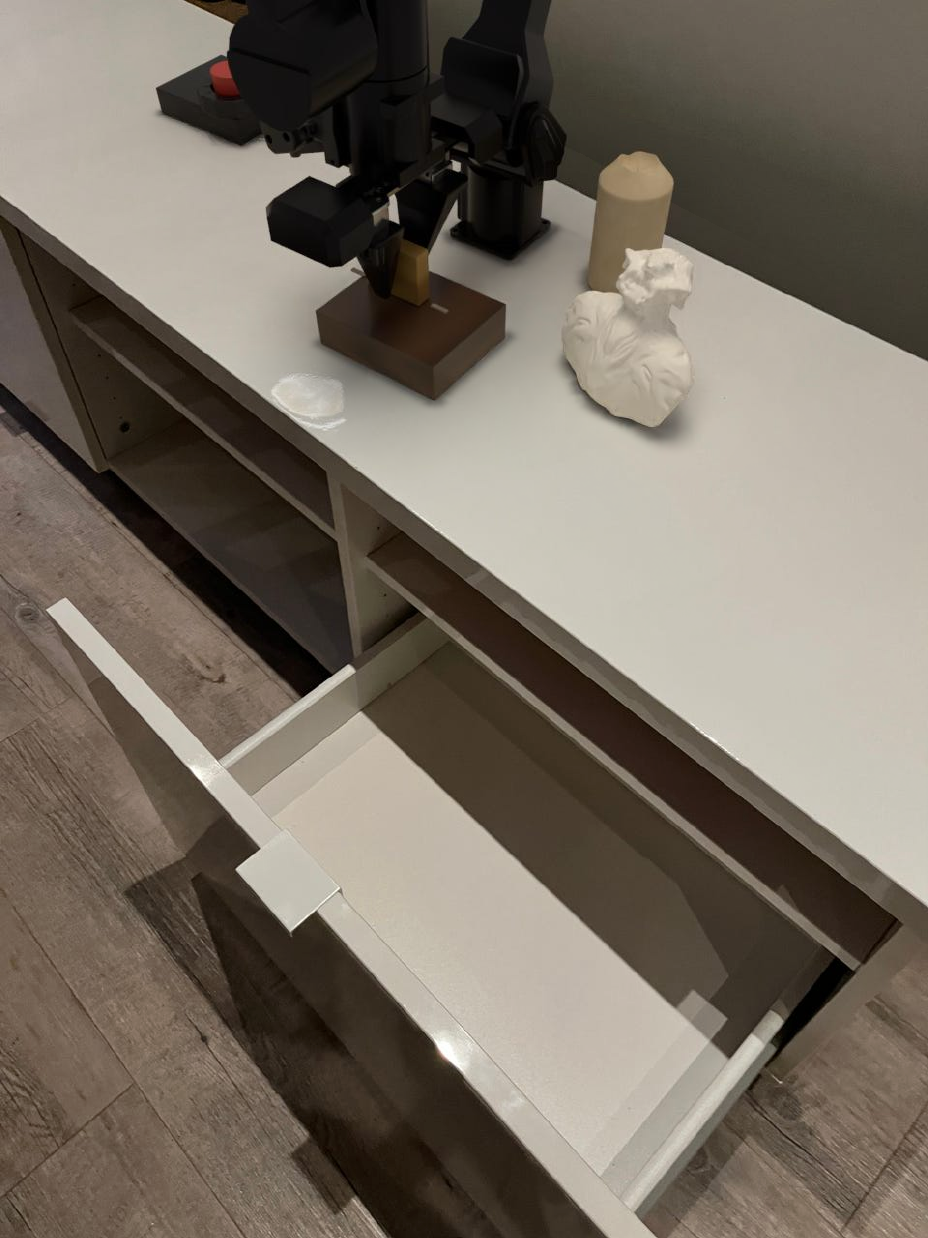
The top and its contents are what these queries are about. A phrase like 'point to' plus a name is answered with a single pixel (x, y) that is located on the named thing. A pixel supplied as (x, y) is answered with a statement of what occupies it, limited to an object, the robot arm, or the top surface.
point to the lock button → (223, 79)
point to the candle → (627, 215)
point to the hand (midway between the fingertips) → (398, 284)
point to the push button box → (208, 105)
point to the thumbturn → (412, 274)
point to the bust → (634, 338)
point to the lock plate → (413, 331)
